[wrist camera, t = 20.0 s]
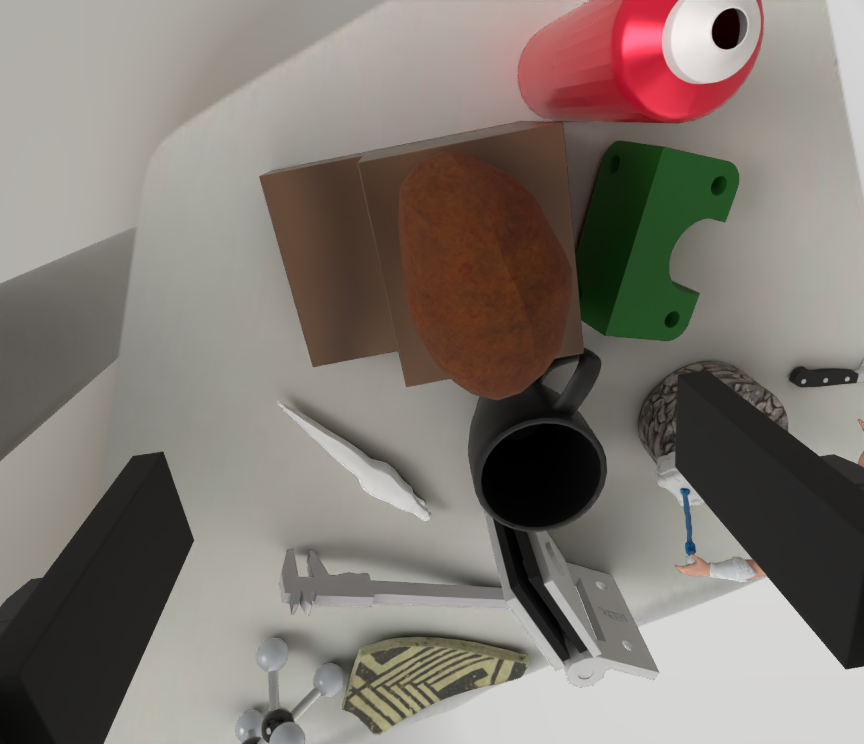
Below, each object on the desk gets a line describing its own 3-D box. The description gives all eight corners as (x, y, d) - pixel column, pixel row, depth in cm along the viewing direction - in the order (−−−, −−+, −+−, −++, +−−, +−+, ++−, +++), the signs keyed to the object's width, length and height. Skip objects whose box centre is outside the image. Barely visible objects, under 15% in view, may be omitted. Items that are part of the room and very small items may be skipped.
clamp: (613, 275, 47) (667, 360, 41) (545, 266, 45) (591, 355, 39) (706, 127, 39) (789, 207, 33) (628, 108, 37) (702, 189, 31)
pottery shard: (346, 633, 53) (346, 651, 51) (528, 629, 55) (534, 647, 54) (339, 724, 56) (339, 744, 55) (510, 717, 59) (515, 736, 57)
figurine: (737, 310, 44) (947, 427, 27) (804, 381, 46) (1033, 528, 30) (588, 446, 48) (693, 622, 31) (658, 505, 50) (790, 697, 34)
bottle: (549, 139, 39) (694, 160, 20) (500, 63, 37) (609, 10, 18) (622, 81, 38) (844, 46, 19) (575, 0, 36) (770, -125, 17)
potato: (501, 127, 30) (572, 110, 22) (559, 342, 34) (635, 387, 26) (354, 180, 29) (375, 180, 21) (430, 393, 33) (470, 455, 25)
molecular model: (350, 663, 54) (342, 783, 45) (281, 743, 58) (259, 871, 48) (269, 626, 52) (241, 744, 42) (202, 711, 56) (162, 838, 46)
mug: (611, 336, 44) (665, 390, 35) (536, 470, 48) (568, 548, 39) (509, 294, 42) (540, 340, 34) (441, 436, 46) (452, 510, 38)
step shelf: (319, 346, 43) (300, 408, 34) (271, 170, 38) (233, 187, 29) (542, 302, 43) (584, 353, 34) (521, 121, 38) (563, 121, 29)
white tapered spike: (440, 498, 49) (441, 512, 47) (417, 519, 49) (418, 534, 48) (290, 384, 44) (286, 394, 42) (267, 408, 45) (262, 420, 43)
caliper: (285, 555, 50) (271, 613, 44) (288, 544, 49) (274, 601, 44) (519, 599, 53) (534, 658, 47) (523, 590, 53) (539, 648, 47)
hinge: (615, 576, 53) (662, 675, 43) (566, 611, 54) (602, 715, 45) (511, 480, 48) (539, 568, 39) (461, 521, 49) (477, 615, 40)
